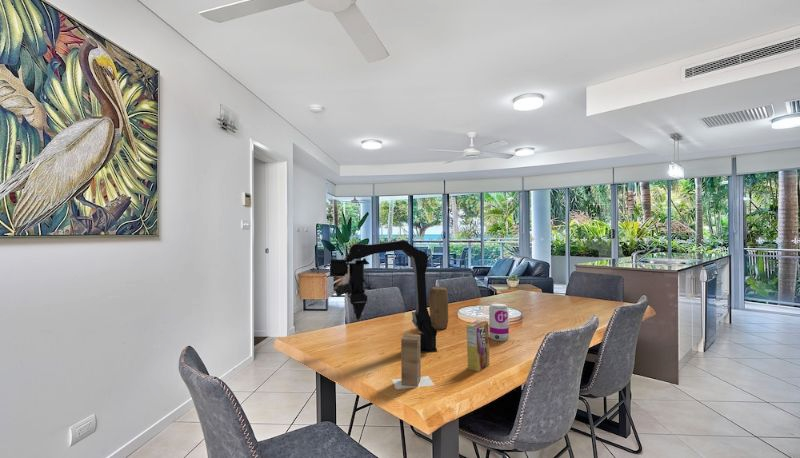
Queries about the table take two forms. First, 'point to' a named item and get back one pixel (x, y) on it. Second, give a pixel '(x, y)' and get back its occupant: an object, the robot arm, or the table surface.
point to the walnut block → (410, 360)
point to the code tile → (423, 382)
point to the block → (438, 307)
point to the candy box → (478, 345)
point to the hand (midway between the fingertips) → (356, 316)
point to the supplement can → (498, 322)
